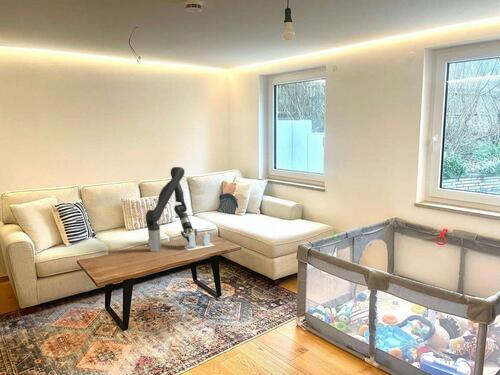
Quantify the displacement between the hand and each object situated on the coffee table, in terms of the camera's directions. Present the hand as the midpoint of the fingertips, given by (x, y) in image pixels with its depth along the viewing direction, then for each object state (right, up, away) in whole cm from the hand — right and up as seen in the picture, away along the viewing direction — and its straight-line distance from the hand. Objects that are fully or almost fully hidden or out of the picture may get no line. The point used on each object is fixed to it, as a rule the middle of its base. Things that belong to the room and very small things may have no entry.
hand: (192, 240), depth 310 cm
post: (+11, -5, +9) cm, 14 cm away
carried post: (-1, -4, +2) cm, 5 cm away
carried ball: (-1, +5, +1) cm, 5 cm away
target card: (+5, -6, +5) cm, 9 cm away
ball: (+10, +5, +8) cm, 13 cm away
